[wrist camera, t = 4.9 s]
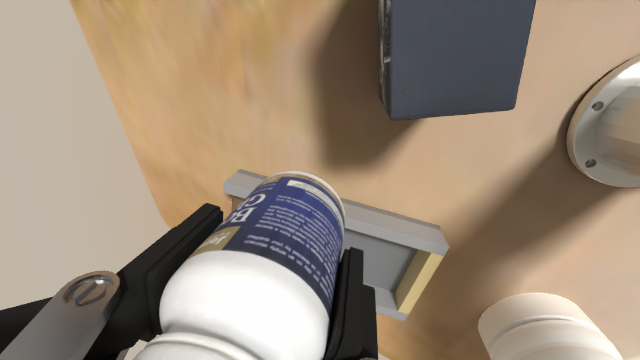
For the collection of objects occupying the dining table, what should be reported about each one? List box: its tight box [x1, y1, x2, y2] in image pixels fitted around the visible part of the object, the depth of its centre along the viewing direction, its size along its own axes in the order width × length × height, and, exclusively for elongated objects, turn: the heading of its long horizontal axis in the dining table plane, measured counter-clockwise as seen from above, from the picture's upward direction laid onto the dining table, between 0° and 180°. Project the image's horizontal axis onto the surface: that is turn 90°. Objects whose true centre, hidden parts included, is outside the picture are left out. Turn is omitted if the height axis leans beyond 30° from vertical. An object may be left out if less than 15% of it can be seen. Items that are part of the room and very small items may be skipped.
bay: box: [224, 169, 449, 321], centre depth 31 cm, size 26×13×4 cm, turn 77°
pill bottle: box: [133, 171, 345, 360], centre depth 9 cm, size 5×5×10 cm
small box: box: [378, 0, 536, 120], centre depth 16 cm, size 13×7×12 cm, turn 7°
